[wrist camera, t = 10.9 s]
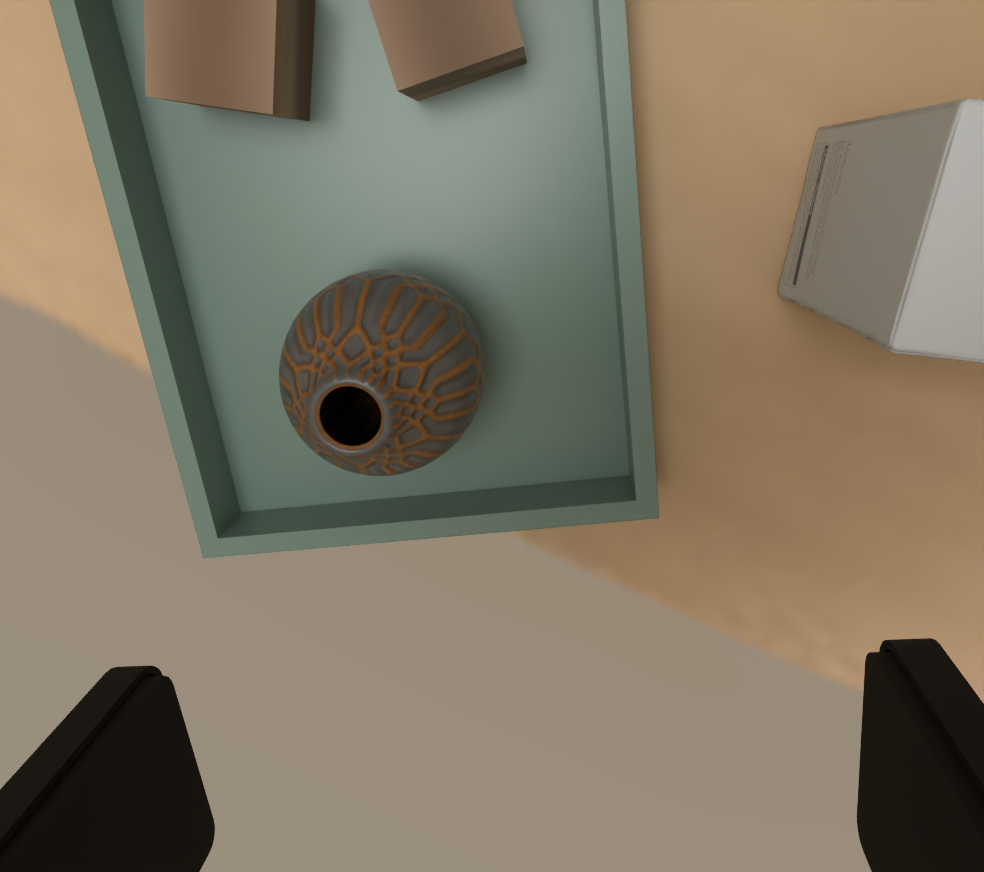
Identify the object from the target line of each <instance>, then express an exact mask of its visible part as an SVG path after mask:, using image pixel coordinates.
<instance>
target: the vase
mask: <svg viewBox="0 0 984 872" xmlns="http://www.w3.org/2000/svg"><path fill="white" fill-rule="evenodd" d="M484 380H485V361H484V352H483V347H482V343H481V340H480V337H479V334H478V331H477V329H476V327H475V325H474V323H473V321H472V319H471V318H470V316H469V315H468V313H467V312H466V310H465V309H464V308H463V306H462V305H461V304H460V303H459V302H458V301H457V300H456V299H455V298H454V297H453V296H452V295H451V294H450V293H449V292H447V291H446V290H445V289H444V288H442V287H441V286H439V285H438V284H436V283H434V282H432V281H431V280H429V279H426V278H424V277H422V276H419V275H417V274H413V273H410V272H406V271H401V270H391V269H378V270H370V271H364V272H359V273H356V274H352V275H350V276H347V277H344V278H342V279H340V280H338V281H336V282H334V283H332V284H330V285H328V286H327V287H325V288H324V289H323V290H321V291H320V292H319V293H317V294H316V295H315V296H314V297H313V298H311V299H310V300H309V301H308V302H307V303H306V305H305V306H304V307H303V308H302V309H301V311H300V312H299V314H298V315H297V316H296V318H295V319H294V321H293V323H292V325H291V327H290V329H289V331H288V333H287V336H286V338H285V341H284V344H283V348H282V352H281V357H280V364H279V386H280V394H281V398H282V402H283V406H284V409H285V411H286V414H287V416H288V418H289V420H290V422H291V424H292V426H293V428H294V429H295V431H296V432H297V434H298V435H299V437H300V438H301V439H302V440H303V441H304V442H305V444H306V445H307V446H308V447H309V448H310V449H311V450H312V451H314V452H315V453H316V454H317V455H318V456H320V457H321V458H323V459H324V460H326V461H327V462H329V463H331V464H333V465H335V466H337V467H339V468H341V469H344V470H347V471H350V472H353V473H357V474H362V475H369V476H390V475H397V474H402V473H406V472H410V471H413V470H416V469H418V468H421V467H423V466H425V465H427V464H429V463H431V462H433V461H434V460H436V459H438V458H439V457H440V456H442V455H443V454H445V453H446V452H447V451H448V450H449V449H451V448H452V447H453V446H454V445H455V444H456V443H457V442H458V440H459V439H460V438H461V437H462V436H463V435H464V433H465V432H466V430H467V429H468V428H469V426H470V424H471V422H472V421H473V418H474V416H475V414H476V412H477V409H478V407H479V404H480V401H481V397H482V393H483V387H484Z"/></svg>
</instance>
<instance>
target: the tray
mask: <svg viewBox="0 0 984 872" xmlns="http://www.w3.org/2000/svg"><path fill="white" fill-rule="evenodd" d="M49 1H50V5H51V8H52V12H53V16H54V19H55V23H56V26H57V30H58V34H59V37H60V41H61V45H62V48H63V52H64V55H65V59H66V63H67V66H68V70H69V74H70V77H71V81H72V84H73V88H74V92H75V95H76V99H77V103H78V106H79V110H80V113H81V117H82V121H83V124H84V128H85V131H86V135H87V139H88V142H89V146H90V150H91V153H92V157H93V160H94V164H95V168H96V171H97V175H98V179H99V182H100V186H101V189H102V193H103V197H104V200H105V204H106V208H107V211H108V215H109V218H110V222H111V226H112V229H113V233H114V237H115V240H116V244H117V247H118V251H119V255H120V258H121V262H122V265H123V269H124V273H125V276H126V280H127V284H128V287H129V291H130V294H131V298H132V302H133V305H134V309H135V313H136V316H137V320H138V323H139V327H140V331H141V334H142V338H143V342H144V345H145V349H146V352H147V356H148V360H149V363H150V367H151V370H152V374H153V378H154V381H155V385H156V389H157V392H158V396H159V399H160V403H161V407H162V410H163V414H164V418H165V421H166V425H167V428H168V432H169V435H170V439H171V443H172V447H173V450H174V454H175V457H176V461H177V465H178V468H179V472H180V476H181V479H182V482H183V486H184V490H185V494H186V497H187V501H188V504H189V508H190V512H191V515H192V519H193V523H194V526H195V530H196V533H197V537H198V540H199V544H200V548H201V552H202V555H203V558H212V557H223V556H235V555H246V554H258V553H269V552H281V551H292V550H303V549H315V548H326V547H337V546H349V545H360V544H371V543H383V542H394V541H405V540H416V539H428V538H439V537H451V536H462V535H473V534H485V533H496V532H507V531H519V530H530V529H541V528H553V527H564V526H575V525H587V524H598V523H609V522H621V521H632V520H643V519H655V518H659V506H658V491H657V476H656V461H655V446H654V430H653V415H652V400H651V385H650V370H649V355H648V339H647V324H646V309H645V294H644V279H643V264H642V249H641V233H640V218H639V203H638V188H637V173H636V158H635V142H634V127H633V112H632V97H631V82H630V67H629V52H628V36H627V21H626V6H625V0H512V4H513V8H514V11H515V15H516V19H517V23H518V26H519V30H520V34H521V37H522V41H523V45H524V50H525V55H526V61H527V63H526V64H523V65H520V66H517V67H514V68H512V69H509V70H506V71H503V72H500V73H497V74H494V75H492V76H489V77H486V78H483V79H480V80H477V81H475V82H472V83H469V84H466V85H463V86H460V87H457V88H455V89H452V90H449V91H446V92H443V93H440V94H438V95H435V96H432V97H429V98H426V99H423V100H420V101H416V100H414V99H412V98H410V97H408V96H406V95H404V94H402V93H400V92H398V91H397V89H396V85H395V82H394V79H393V76H392V73H391V70H390V67H389V64H388V61H387V57H386V54H385V51H384V48H383V45H382V42H381V39H380V36H379V33H378V29H377V26H376V23H375V20H374V17H373V14H372V11H371V8H370V5H369V1H368V0H316V6H315V25H314V45H313V65H312V84H311V104H310V121H303V120H296V119H289V118H282V117H275V116H268V115H261V114H254V113H246V112H239V111H232V110H225V109H218V108H211V107H204V106H198V105H192V104H186V103H180V102H175V101H169V100H163V99H157V98H152V97H146V96H145V34H144V0H49ZM378 269H391V270H401V271H406V272H410V273H413V274H417V275H419V276H422V277H424V278H426V279H429V280H431V281H432V282H434V283H436V284H438V285H439V286H441V287H442V288H444V289H445V290H446V291H447V292H449V293H450V294H451V295H452V296H453V297H454V298H455V299H456V300H457V301H458V302H459V303H460V304H461V305H462V306H463V308H464V309H465V310H466V312H467V313H468V315H469V316H470V318H471V319H472V321H473V323H474V325H475V327H476V329H477V331H478V334H479V337H480V340H481V343H482V347H483V352H484V361H485V380H484V387H483V393H482V397H481V401H480V404H479V407H478V409H477V412H476V414H475V416H474V418H473V421H472V422H471V424H470V426H469V428H468V429H467V430H466V432H465V433H464V435H463V436H462V437H461V438H460V439H459V440H458V442H457V443H456V444H455V445H454V446H453V447H452V448H451V449H449V450H448V451H447V452H446V453H445V454H443V455H442V456H440V457H439V458H438V459H436V460H434V461H433V462H431V463H429V464H427V465H425V466H423V467H421V468H418V469H416V470H413V471H410V472H406V473H402V474H397V475H390V476H369V475H362V474H357V473H353V472H350V471H347V470H344V469H341V468H339V467H337V466H335V465H333V464H331V463H329V462H327V461H326V460H324V459H323V458H321V457H320V456H318V455H317V454H316V453H315V452H314V451H312V450H311V449H310V448H309V447H308V446H307V445H306V444H305V442H304V441H303V440H302V439H301V438H300V437H299V435H298V434H297V432H296V431H295V429H294V428H293V426H292V424H291V422H290V420H289V418H288V416H287V414H286V411H285V409H284V406H283V402H282V398H281V394H280V386H279V364H280V357H281V352H282V348H283V344H284V341H285V338H286V336H287V333H288V331H289V329H290V327H291V325H292V323H293V321H294V319H295V318H296V316H297V315H298V314H299V312H300V311H301V309H302V308H303V307H304V306H305V305H306V303H307V302H308V301H309V300H310V299H311V298H313V297H314V296H315V295H316V294H317V293H319V292H320V291H321V290H323V289H324V288H325V287H327V286H328V285H330V284H332V283H334V282H336V281H338V280H340V279H342V278H344V277H347V276H350V275H352V274H356V273H359V272H364V271H370V270H378Z"/></svg>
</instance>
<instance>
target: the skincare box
mask: <svg viewBox="0 0 984 872" xmlns="http://www.w3.org/2000/svg"><path fill="white" fill-rule="evenodd" d="M778 292H779V296H780V298H781V299H785V300H788V301H791V302H793V303H795V304H798V305H800V306H803V307H805V308H807V309H809V310H811V311H813V312H815V313H817V314H820V315H823V316H824V317H826V318H828V319H830V320H832V321H834V322H836V323H838V324H840V325H842V326H844V327H846V328H848V329H850V330H852V331H854V332H855V333H857V334H859V335H861V336H863V337H865V338H866V339H867V340H869V341H871V342H873V343H874V344H876V345H878V346H880V347H882V348H884V349H885V350H887V351H889V352H891V353H895V354H907V355H918V356H928V357H936V358H945V359H953V360H962V361H970V362H978V363H984V99H976V98H964V99H962V100H958V101H953V102H948V103H943V104H938V105H933V106H928V107H923V108H918V109H913V110H908V111H903V112H898V113H893V114H888V115H883V116H878V117H874V118H869V119H864V120H858V121H853V122H847V123H842V124H837V125H832V126H826V127H821V128H819V129H818V131H817V134H816V138H815V142H814V146H813V150H812V153H811V157H810V161H809V166H808V171H807V175H806V181H805V186H804V189H803V193H802V199H801V203H800V206H799V209H798V212H797V216H796V220H795V225H794V229H793V233H792V237H791V241H790V246H789V250H788V254H787V258H786V261H785V265H784V268H783V272H782V276H781V279H780V283H779V287H778Z"/></svg>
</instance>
